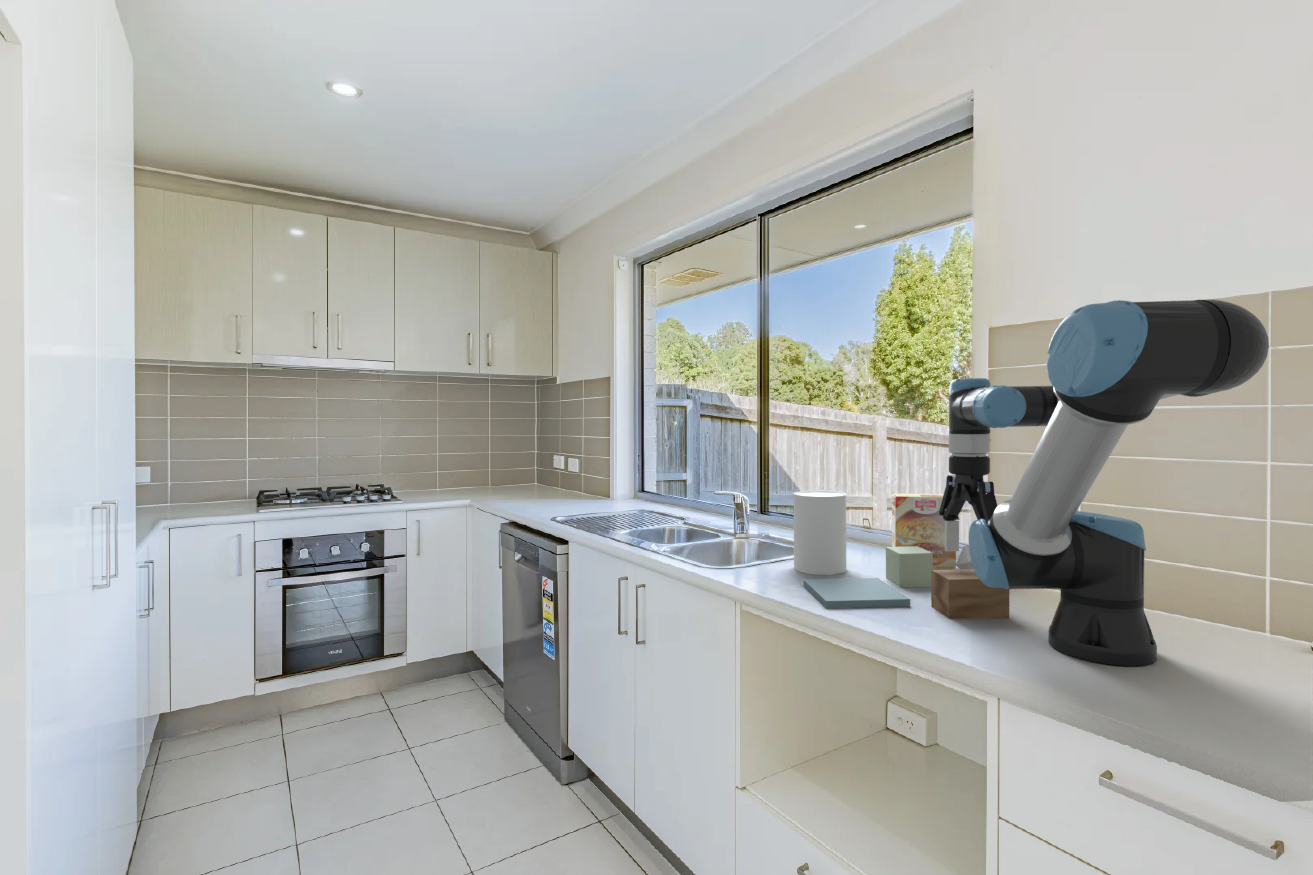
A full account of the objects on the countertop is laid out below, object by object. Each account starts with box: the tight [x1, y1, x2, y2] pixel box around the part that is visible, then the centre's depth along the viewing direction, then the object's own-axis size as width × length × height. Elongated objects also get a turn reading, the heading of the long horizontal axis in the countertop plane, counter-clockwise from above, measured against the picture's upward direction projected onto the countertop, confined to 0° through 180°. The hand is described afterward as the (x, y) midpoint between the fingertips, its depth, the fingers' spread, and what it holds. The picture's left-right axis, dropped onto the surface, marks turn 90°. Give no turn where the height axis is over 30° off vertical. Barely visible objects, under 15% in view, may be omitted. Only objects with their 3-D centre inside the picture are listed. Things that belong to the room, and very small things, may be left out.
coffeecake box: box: [891, 492, 957, 570], centre depth 168 cm, size 15×7×20 cm, turn 77°
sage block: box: [885, 546, 933, 588], centre depth 154 cm, size 8×8×8 cm
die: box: [956, 545, 974, 570], centre depth 156 cm, size 8×9×10 cm
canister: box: [793, 490, 847, 576], centre depth 169 cm, size 14×14×20 cm
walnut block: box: [930, 569, 1010, 620], centre depth 130 cm, size 8×12×8 cm, turn 90°
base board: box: [802, 577, 911, 609], centre depth 143 cm, size 18×18×2 cm
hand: (968, 558), depth 130 cm, fingers open, 13 cm apart
